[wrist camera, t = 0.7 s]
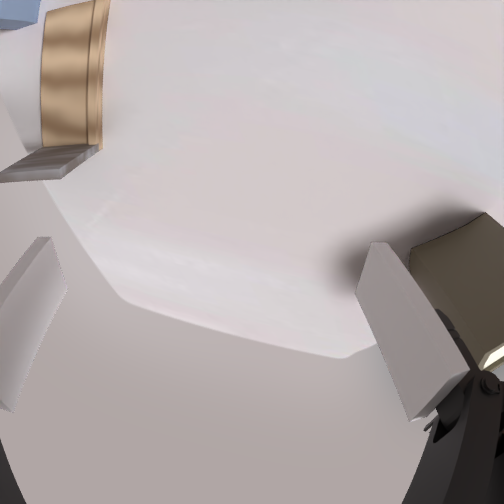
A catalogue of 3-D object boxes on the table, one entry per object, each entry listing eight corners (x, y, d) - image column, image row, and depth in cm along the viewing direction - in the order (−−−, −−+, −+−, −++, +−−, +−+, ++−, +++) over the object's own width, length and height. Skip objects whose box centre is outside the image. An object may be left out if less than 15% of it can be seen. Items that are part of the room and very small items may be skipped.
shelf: (51, 12, 26) (-2, 3, 14) (110, -1, 27) (67, -23, 16) (48, 151, 38) (-2, 183, 26) (102, 148, 39) (60, 179, 28)
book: (409, 281, 59) (471, 387, 35) (406, 248, 54) (482, 359, 30) (483, 246, 55) (555, 329, 31) (485, 212, 50) (570, 294, 27)
